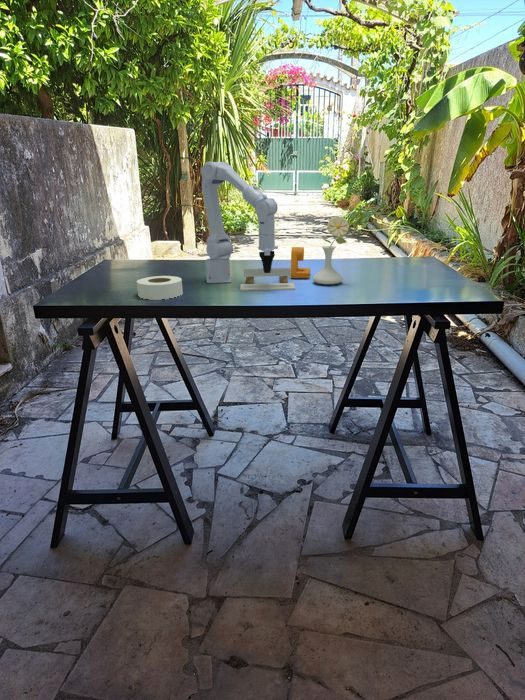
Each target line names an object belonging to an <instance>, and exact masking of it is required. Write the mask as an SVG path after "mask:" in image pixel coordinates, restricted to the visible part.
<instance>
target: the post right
mask: <svg viewBox="0 0 525 700" xmlns="http://www.w3.org/2000/svg"><path fill="white" fill-rule="evenodd" d="M278 277H279V279H278V282H279V283H289V280H288V278H289V276H278Z"/></svg>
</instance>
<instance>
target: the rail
mask: <svg viewBox="0 0 525 700" xmlns="http://www.w3.org/2000/svg"><path fill="white" fill-rule="evenodd" d="M243 275H244V276H243V277H244V278H246V277H254V278H255V277H256V278H257V277H279V276H288V277H291V267H281V268H280V267H275V268H274V267H271V271H270V273H264V269H263V268H244V269H243Z"/></svg>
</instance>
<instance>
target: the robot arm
mask: <svg viewBox="0 0 525 700" xmlns="http://www.w3.org/2000/svg"><path fill="white" fill-rule="evenodd" d="M233 168H234V167H233V166H232V165H230V164H229V163H228V162H226V161H206V162H205V163H204V164H203V166H202V167H201V169H200V173H201V192H202V198H203V201H204V208H205V212H206V220H207V224H208V228H209V236H208V237H207V238H206V239H205V241H206V248H205V249H206V250H205V251H206V255H207V256H208V258H206V259H205V278H206V283H207V284H210V283H211V284H215V283H216V284H218V283H220V284H223V283H228V284H229V283H232V280H233V279H232V278H233V277H231V266H230V261H231V260H230V258H231V255H232V254H233V251H234V246H233V244H232V241H231V239H230V236H229V235H228V234H227V233H226V232H225V228H224V222H223V217H222V216H223V215H222V210H221V207H220V200H219V193H218V189H219V187H220V186H221V185H222V184H223V183H225V182H228V183H229V184H230V185H231V186H233V187H235V188H236V189H237V190H238V191H239V192H241V196H242V199H244V200H245V201H246V202H247V203H248V204H249V206H251V207H252V208H253V209H254V212H255V215H256V217H257V221H258V225H257V226H258V250H260V251H258V252H259V254H258V255H259V258H260V260H261V262H262V263H261V264H262V266H263V267H262V269H264V273H270V271H271V268H272V264H273V261H274V258H275V256H276V255H275V250H278V248H279V246H277V245H275V242H276V241H275V239H276V238H275V237H276V236H275V235H276V234H275V232H276V231H275V227H276V226H275V215H276V213H277V212H278V203H277V202H276V200H275V199H274V198H272V197H270V198H268V196H267V194H264V193H263V192H261V190H260V189H259V186H257V185H253V184H248V183H247V182H246V181H245V180H244V179H243V178H242V177H241V176H240V175H239V174H238V173H237V172H236V171H235V170H234V169H233Z"/></svg>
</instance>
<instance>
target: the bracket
mask: <svg viewBox="0 0 525 700" xmlns="http://www.w3.org/2000/svg"><path fill="white" fill-rule="evenodd" d="M290 251H291V253H290V269H291V276H290V278H291V279H310V277H309V276H311V268H310V267H299V261H300V262H304V261H305V247H304V246H292V247H291V250H290Z"/></svg>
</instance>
